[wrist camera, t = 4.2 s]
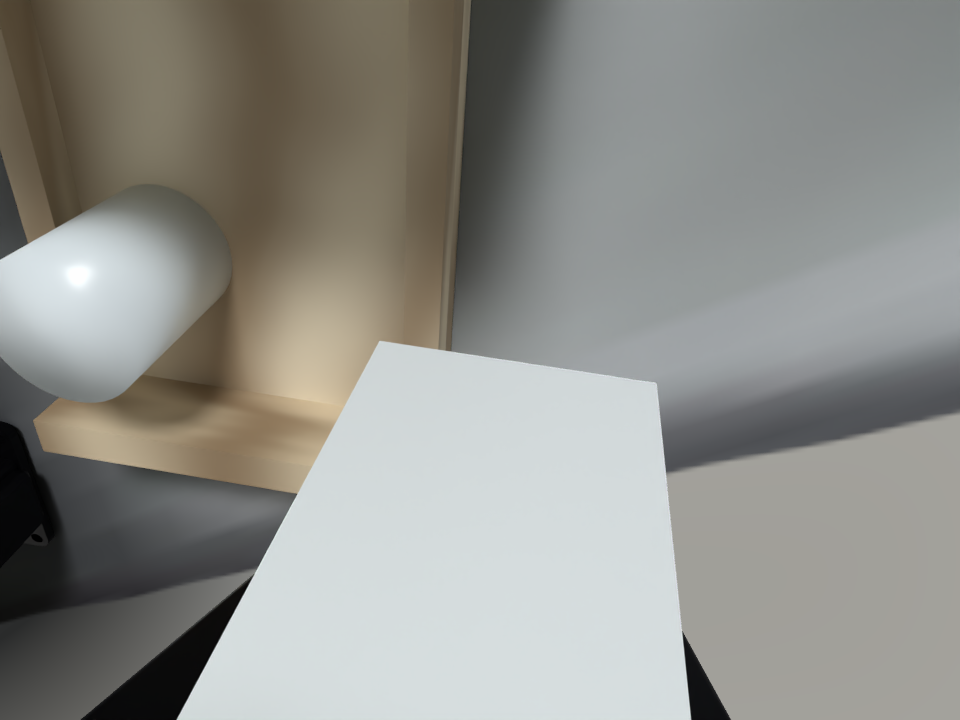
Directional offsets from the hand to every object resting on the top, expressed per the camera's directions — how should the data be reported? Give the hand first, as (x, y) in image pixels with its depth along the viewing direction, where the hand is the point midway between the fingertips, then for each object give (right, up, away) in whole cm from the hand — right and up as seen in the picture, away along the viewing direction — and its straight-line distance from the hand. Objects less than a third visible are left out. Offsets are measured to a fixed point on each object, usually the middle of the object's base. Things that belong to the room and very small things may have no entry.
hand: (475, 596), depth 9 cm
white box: (0, +1, +2) cm, 2 cm away
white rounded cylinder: (-9, +6, +12) cm, 16 cm away
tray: (-6, +9, +11) cm, 15 cm away
